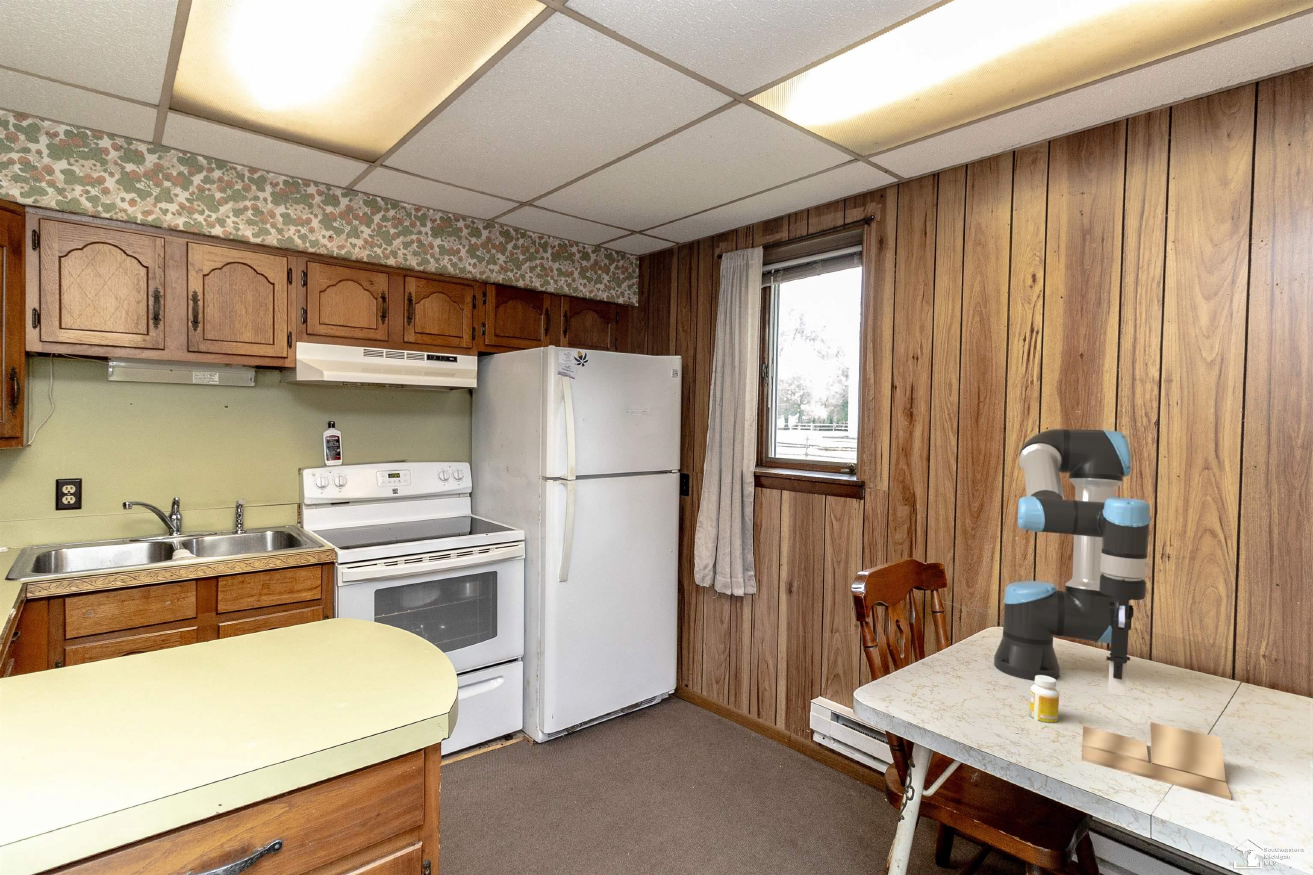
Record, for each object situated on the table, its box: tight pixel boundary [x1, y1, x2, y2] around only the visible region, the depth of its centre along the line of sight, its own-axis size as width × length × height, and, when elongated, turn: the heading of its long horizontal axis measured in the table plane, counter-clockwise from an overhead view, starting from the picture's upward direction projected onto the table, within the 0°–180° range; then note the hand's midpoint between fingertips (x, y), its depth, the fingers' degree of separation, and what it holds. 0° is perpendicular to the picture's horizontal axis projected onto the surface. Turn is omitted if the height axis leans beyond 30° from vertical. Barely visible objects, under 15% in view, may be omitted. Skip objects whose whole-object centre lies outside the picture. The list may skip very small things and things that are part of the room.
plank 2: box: [1149, 721, 1227, 783], centre depth 123 cm, size 10×9×1 cm
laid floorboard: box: [1081, 745, 1232, 801], centre depth 121 cm, size 22×5×1 cm, turn 56°
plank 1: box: [1081, 725, 1150, 763], centre depth 130 cm, size 10×9×1 cm
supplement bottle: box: [1028, 675, 1060, 724], centre depth 143 cm, size 5×5×10 cm
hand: (1116, 692), depth 132 cm, fingers closed
